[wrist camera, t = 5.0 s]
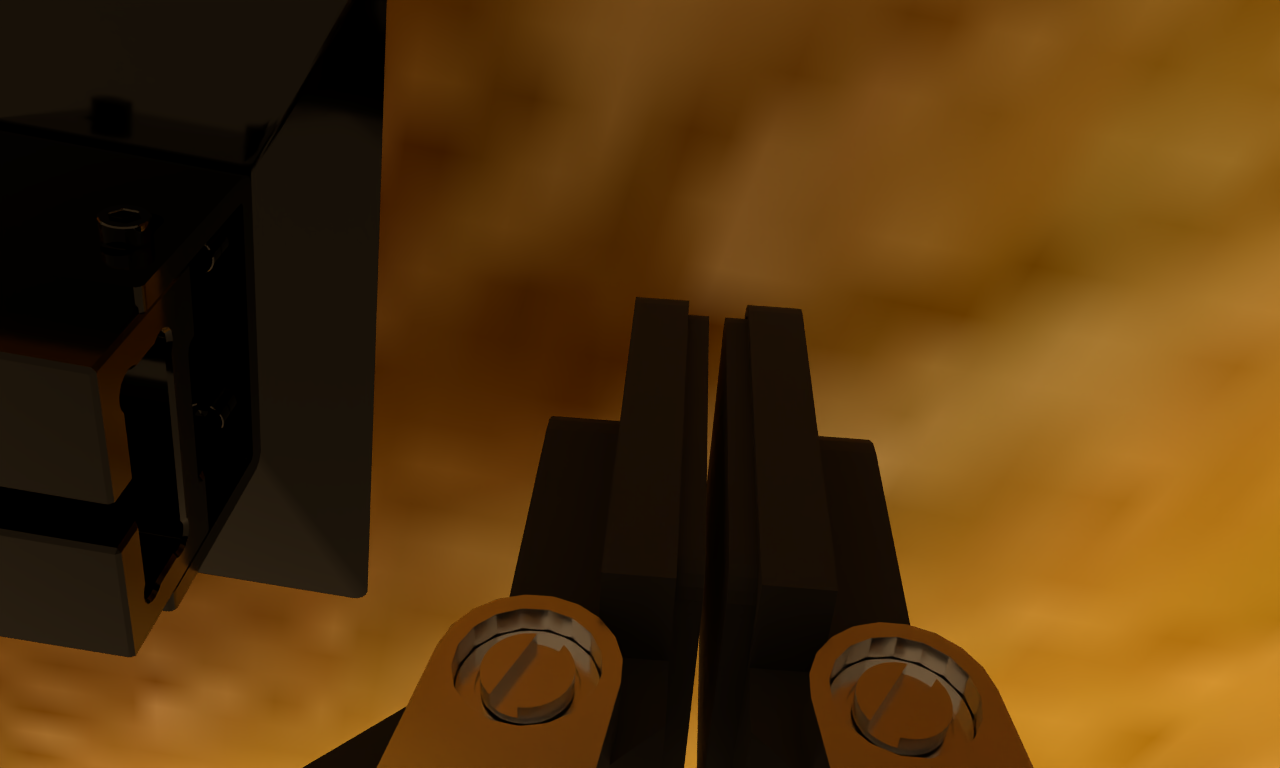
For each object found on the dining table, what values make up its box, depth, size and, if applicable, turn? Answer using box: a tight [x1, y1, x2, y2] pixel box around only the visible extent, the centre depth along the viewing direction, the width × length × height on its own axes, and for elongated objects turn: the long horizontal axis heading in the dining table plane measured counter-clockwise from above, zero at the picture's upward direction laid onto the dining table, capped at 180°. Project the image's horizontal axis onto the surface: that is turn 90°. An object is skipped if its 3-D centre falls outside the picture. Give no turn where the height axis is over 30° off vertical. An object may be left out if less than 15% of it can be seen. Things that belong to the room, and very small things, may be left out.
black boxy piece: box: [0, 0, 387, 657], centre depth 12 cm, size 12×7×5 cm, turn 170°
